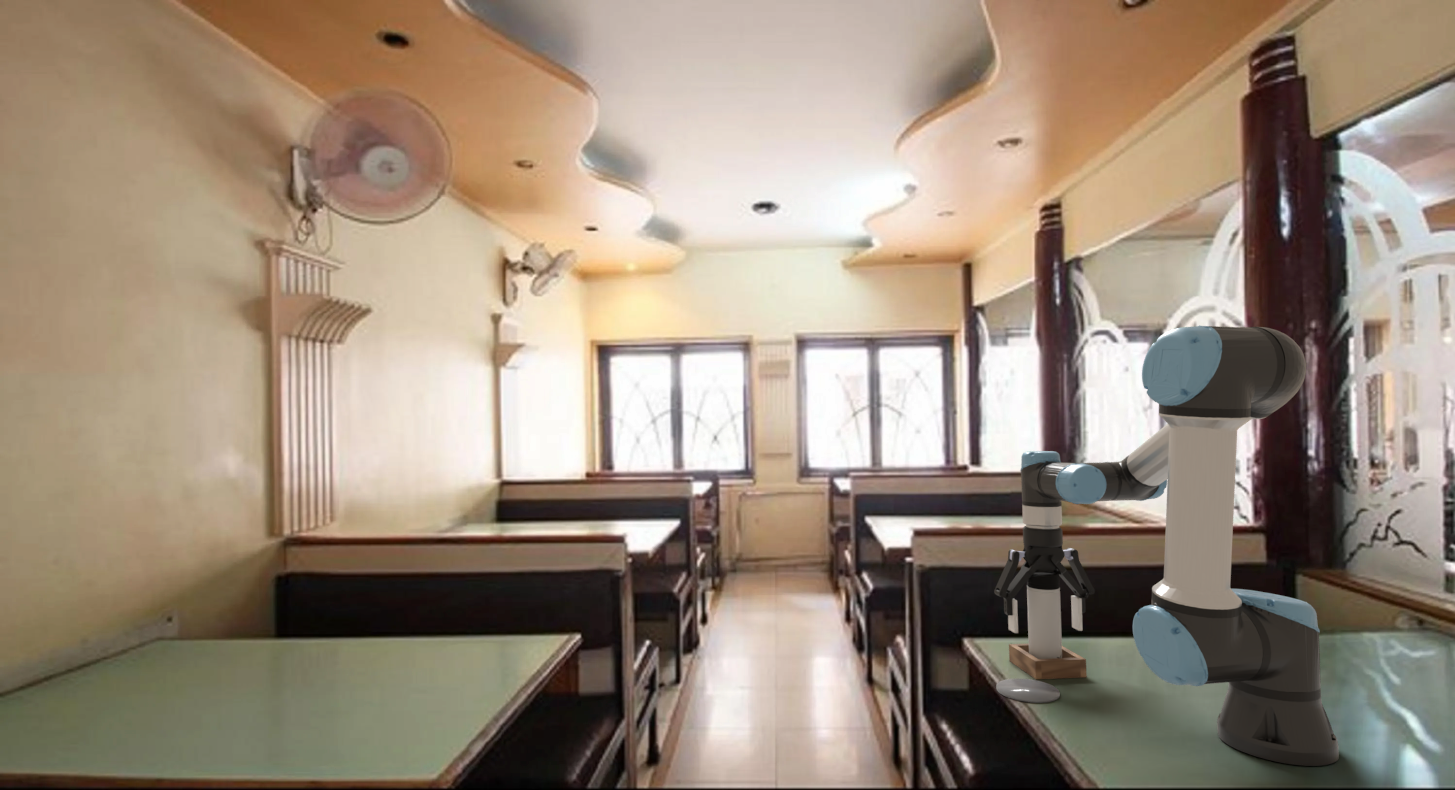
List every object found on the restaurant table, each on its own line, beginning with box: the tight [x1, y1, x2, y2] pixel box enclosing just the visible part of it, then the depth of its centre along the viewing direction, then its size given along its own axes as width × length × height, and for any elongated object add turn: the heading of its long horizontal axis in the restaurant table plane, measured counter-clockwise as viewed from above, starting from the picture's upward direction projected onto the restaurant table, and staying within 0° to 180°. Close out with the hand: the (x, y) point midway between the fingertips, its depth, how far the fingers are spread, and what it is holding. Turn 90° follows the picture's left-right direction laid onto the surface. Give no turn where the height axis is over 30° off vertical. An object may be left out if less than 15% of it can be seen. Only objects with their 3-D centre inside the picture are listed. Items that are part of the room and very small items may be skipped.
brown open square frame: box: [1008, 643, 1088, 680], centre depth 151 cm, size 11×10×4 cm
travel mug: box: [1026, 570, 1063, 659], centre depth 152 cm, size 6×7×20 cm
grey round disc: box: [995, 678, 1061, 704], centre depth 139 cm, size 11×11×1 cm
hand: (1045, 630), depth 152 cm, fingers open, 13 cm apart
